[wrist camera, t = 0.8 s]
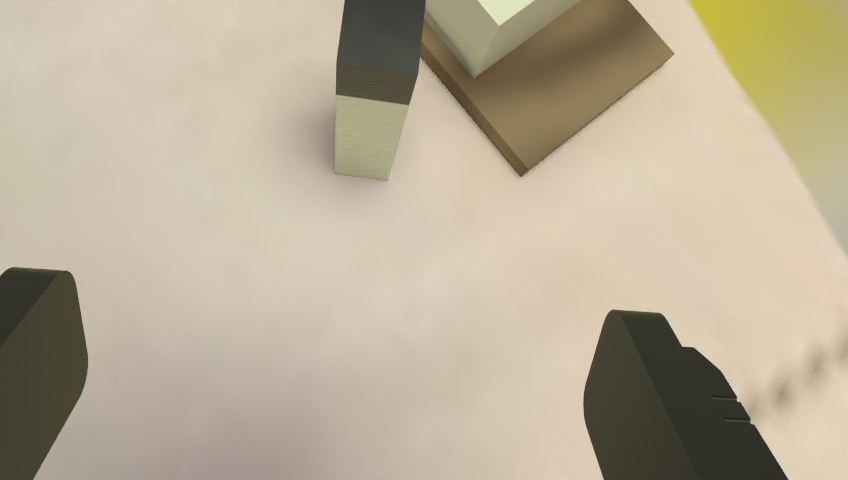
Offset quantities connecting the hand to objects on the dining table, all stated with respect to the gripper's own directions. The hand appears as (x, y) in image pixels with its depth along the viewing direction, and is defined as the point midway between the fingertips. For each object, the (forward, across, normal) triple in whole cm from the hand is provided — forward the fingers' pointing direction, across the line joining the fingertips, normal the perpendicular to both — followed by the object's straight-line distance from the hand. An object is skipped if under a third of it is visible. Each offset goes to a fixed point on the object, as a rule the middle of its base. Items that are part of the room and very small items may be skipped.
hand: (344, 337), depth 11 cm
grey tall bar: (+28, 0, +8) cm, 30 cm away
